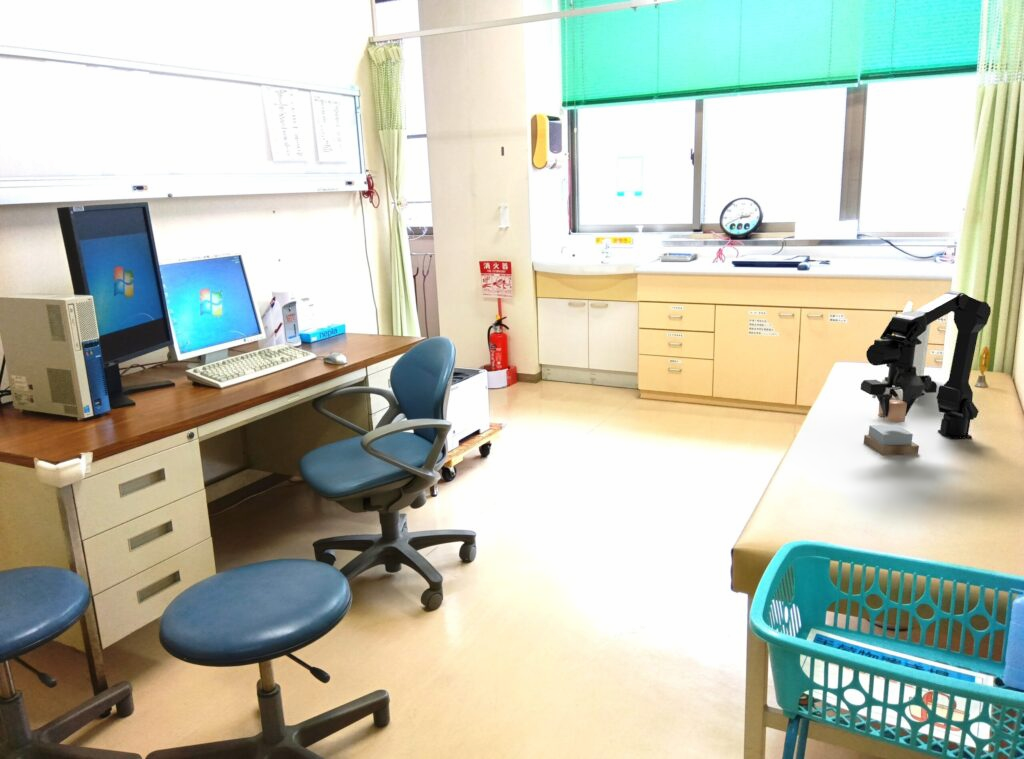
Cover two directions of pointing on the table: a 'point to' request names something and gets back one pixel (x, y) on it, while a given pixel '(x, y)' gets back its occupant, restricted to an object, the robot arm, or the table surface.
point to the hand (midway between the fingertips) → (894, 416)
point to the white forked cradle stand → (917, 352)
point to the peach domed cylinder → (896, 411)
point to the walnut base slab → (891, 447)
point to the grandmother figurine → (890, 399)
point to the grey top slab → (890, 434)
